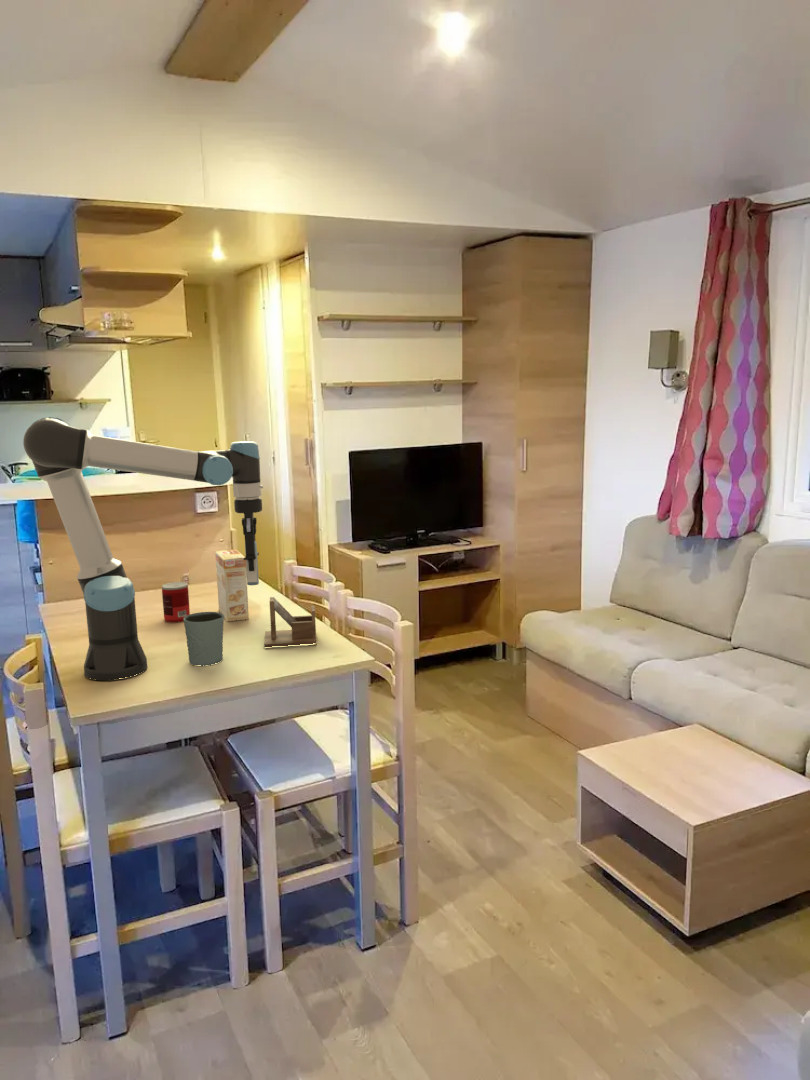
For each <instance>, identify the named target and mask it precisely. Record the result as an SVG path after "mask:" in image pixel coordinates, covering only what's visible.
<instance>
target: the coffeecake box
mask: <svg viewBox="0 0 810 1080" xmlns="http://www.w3.org/2000/svg"><path fill="white" fill-rule="evenodd" d="M214 553H215V554H214V555H215V569H216V585H217V586H216V588H217V601H218V602H217V603H218V604H217V605H218V611H219V613H221V614H223V615H224V620H225V621H226V622H228V621H229V622H235V621H236V620H237V621H244V620H245V619H246V620H249V619H250V617H249V613H250V612H249V599H248V598H249V597H248V596H249V595H248V585H247V571H246V560H244V558H246V557H245V556H244V555H243V554H242V553H241V552H240V551H238V550H237V549H235V548H233V549H223V550H215V552H214ZM246 620H245V621H246Z"/></svg>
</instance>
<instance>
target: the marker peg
mask: <svg viewBox="0 0 810 1080" xmlns="http://www.w3.org/2000/svg"><path fill="white" fill-rule="evenodd" d="M244 549H245V548H244ZM257 552H258V546H257V541H255V555H256V558H255V559H256V565H257V582H247V586H256V585H257V586H258V585H259V584H260V582H259V581H260V579H259V562H258V555H257ZM244 553H245V556H246V549H245V550H244ZM246 572H247V565H246Z"/></svg>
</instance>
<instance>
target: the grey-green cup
mask: <svg viewBox="0 0 810 1080" xmlns="http://www.w3.org/2000/svg"><path fill="white" fill-rule="evenodd" d="M183 620H184V621H183V624H184V631H185V632H184V633H185V637H186V647H187V651H188V652H187V654H188V661H189V664H190V663H191V664H193V665H192V666H194V665H201V666H200V667H206V666H205V665H210V666H212V665H211V664H215V663H218V662H220V661H221V660H222V661H223V658H224V657H223V652H224V650H223V649H224V646H223V645H224V643H223V642H224V621H225V618H224V615H223V614H221V612H217V611H204V612H203V611H202V612H200V611H199V612H195V613H190V615H187V616H185V617H184V618H183ZM222 661H221V662H222ZM221 662H220V663H221ZM191 664H190V665H191ZM218 664H219V663H218ZM203 665H204V666H203ZM215 665H216V664H215Z"/></svg>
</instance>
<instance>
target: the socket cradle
mask: <svg viewBox="0 0 810 1080" xmlns="http://www.w3.org/2000/svg"><path fill="white" fill-rule="evenodd" d="M310 609H311V615H297V616H293V615H292V614H291V613H290V612H289V611H288V610H287V609H286V608H285V607H284V606H283V605H282V604H281V603H280V602H279V601H278V600H277V599H276V598H275V596H270V597H269V618H270V630H266V631H265V634H264V640H263V641H264V642H263V648H264V647H272V646H288V645H300V644H313V643H316V644H317V632H316V631H317V630H316V629H317V627H316V607H315V605H311V606H310ZM276 613H277V614H278V615H279V617H280V618H282V619H283V620H284V622H286V623H287V624H288V626H289V627H291V629H287V630H286V629H285V630H282V629H281V630H277V628H276V627H277V623H276Z"/></svg>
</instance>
